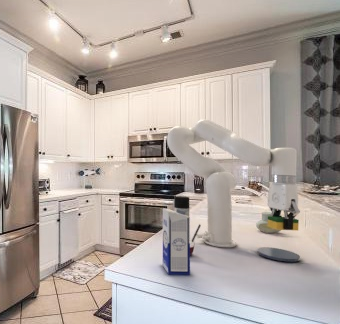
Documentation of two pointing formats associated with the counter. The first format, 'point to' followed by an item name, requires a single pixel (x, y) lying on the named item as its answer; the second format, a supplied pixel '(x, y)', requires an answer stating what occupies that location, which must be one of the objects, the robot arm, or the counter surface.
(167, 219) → the milk carton
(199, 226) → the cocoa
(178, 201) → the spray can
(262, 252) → the plate
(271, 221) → the sponge
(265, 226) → the air freshener
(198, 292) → the counter surface
